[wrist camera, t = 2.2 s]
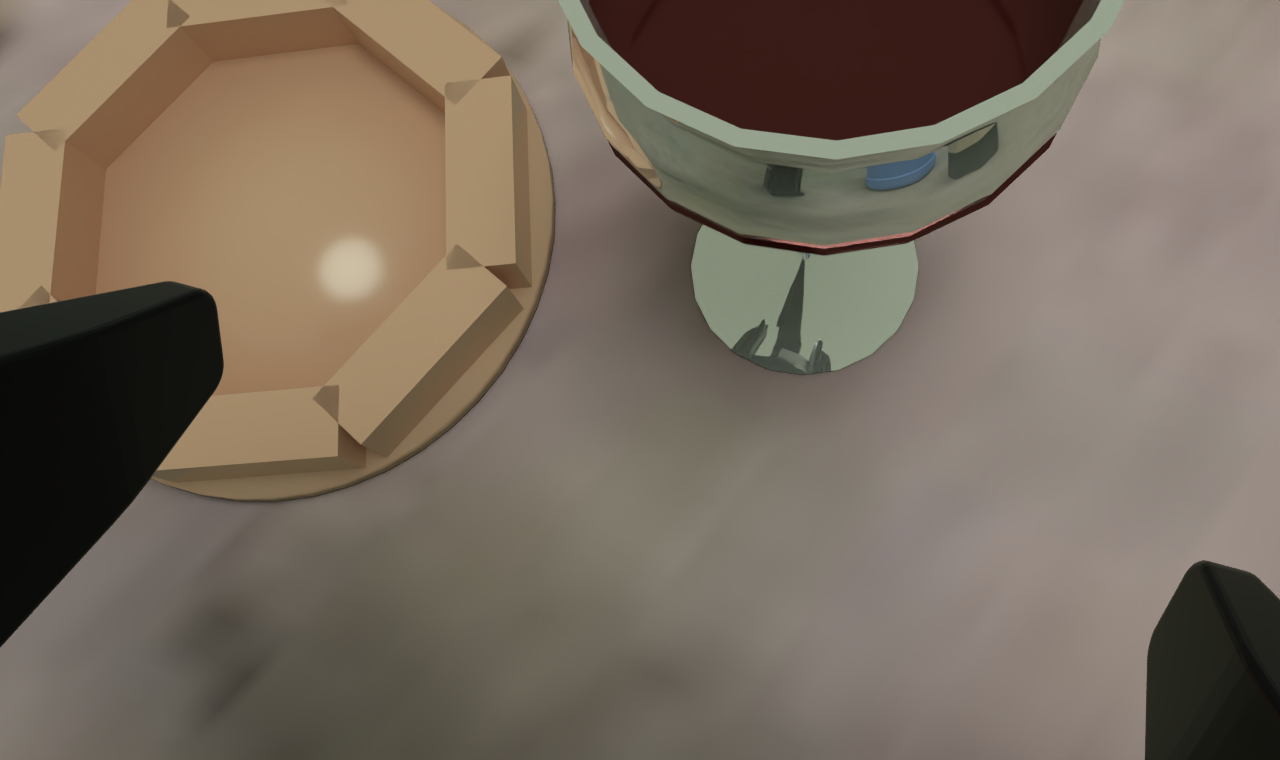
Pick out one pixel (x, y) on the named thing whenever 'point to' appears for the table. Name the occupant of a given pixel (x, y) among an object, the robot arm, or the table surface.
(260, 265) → the coaster
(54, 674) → the table surface
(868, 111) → the wineglass
